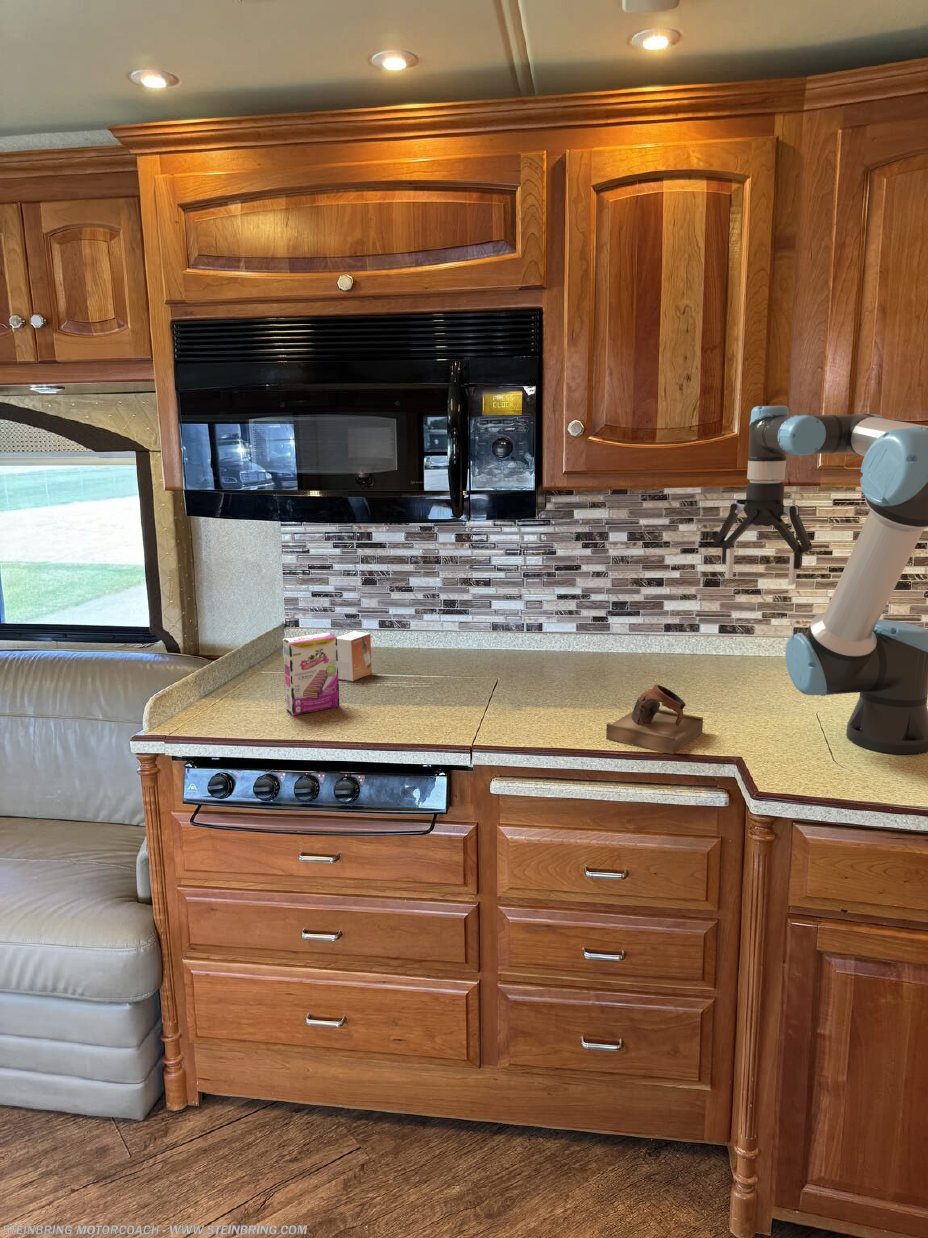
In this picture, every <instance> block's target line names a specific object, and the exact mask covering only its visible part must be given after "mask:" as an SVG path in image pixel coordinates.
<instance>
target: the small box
mask: <svg viewBox="0 0 928 1238" xmlns="http://www.w3.org/2000/svg"><path fill="white" fill-rule="evenodd" d="M336 637H337V653H338V677H339V679H338V680H344V681H349V682H350V681H351V682H355V681H356V680H359V679H361V678H364V677H367V676H370V675H372V673H373V669H372V668H373V667H372V666H373V665H372V663H373V662H372V646H371V645H372V643H371V642H372V641H371V640H372V638H371V633H369V632H361V631H354V630H353V631H351V632H348V633H346V634H343V635H340V636H336Z"/></svg>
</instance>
